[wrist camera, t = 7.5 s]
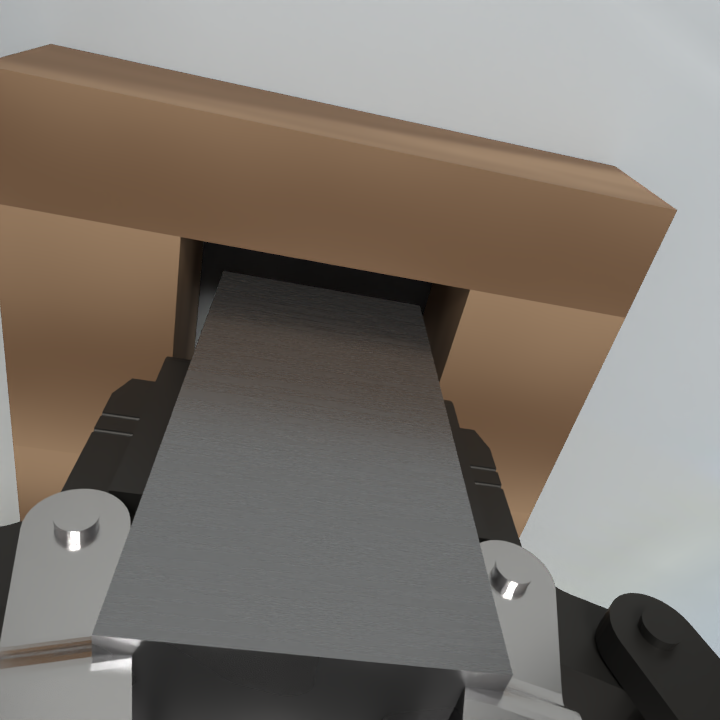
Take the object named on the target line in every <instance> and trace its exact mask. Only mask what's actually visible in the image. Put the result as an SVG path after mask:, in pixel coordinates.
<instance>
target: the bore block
mask: <svg viewBox="0 0 720 720" xmlns="http://www.w3.org/2000/svg"><path fill="white" fill-rule="evenodd" d="M676 212H677V210H676V209H675V208H673V207H672V206H670V205H669V204H668V203H666V202H665V201H663V200H662V199H660V198H659V197H658V196H656V195H655V194H653V193H652V192H651V191H649V190H648V189H646V188H645V187H643V186H642V185H641V184H639V183H638V182H636V181H635V180H634V179H632V178H631V177H629V176H628V175H627V174H625V173H624V172H622V171H621V170H619V169H618V168H617V167H615V166H611V165H606V164H602V163H597V162H593V161H588V160H583V159H579V158H574V157H570V156H565V155H560V154H556V153H551V152H546V151H542V150H537V149H533V148H528V147H523V146H519V145H514V144H510V143H505V142H500V141H496V140H491V139H486V138H482V137H477V136H473V135H468V134H463V133H459V132H454V131H450V130H445V129H440V128H436V127H431V126H427V125H422V124H417V123H413V122H408V121H403V120H399V119H394V118H390V117H385V116H380V115H376V114H371V113H367V112H362V111H357V110H353V109H348V108H343V107H339V106H334V105H330V104H325V103H320V102H316V101H311V100H307V99H302V98H297V97H293V96H288V95H283V94H279V93H274V92H270V91H265V90H260V89H256V88H251V87H247V86H242V85H237V84H233V83H228V82H224V81H219V80H214V79H210V78H205V77H200V76H196V75H191V74H187V73H182V72H177V71H173V70H168V69H164V68H159V67H154V66H150V65H145V64H140V63H136V62H131V61H127V60H122V59H117V58H113V57H108V56H104V55H99V54H94V53H90V52H85V51H80V50H76V49H71V48H67V47H62V46H57V45H53V44H49V45H46V46H42V47H38V48H34V49H31V50H27V51H23V52H20V53H16V54H12V55H9V56H5V57H1V58H0V308H1V318H2V329H3V340H4V351H5V361H6V372H7V383H8V394H9V404H10V415H11V426H12V437H13V447H14V458H15V469H16V480H17V490H18V501H19V512H20V521H23V520H24V518H25V516H26V515H27V513H28V512H29V511H30V510H31V509H32V508H33V507H34V506H35V505H36V504H37V503H39V502H41V501H42V500H44V499H45V498H47V497H49V496H52V495H54V494H57V493H60V492H61V490H62V488H63V487H64V485H65V483H66V481H67V479H68V477H69V475H70V473H71V471H72V469H73V467H74V465H75V463H76V462H77V460H78V458H79V456H80V454H81V452H82V450H83V448H84V446H85V444H86V442H87V440H88V438H89V437H90V435H91V433H92V432H93V431H94V427H95V425H96V423H97V421H98V419H99V417H100V416H102V412H103V410H104V408H105V406H106V404H107V402H108V400H109V398H110V396H111V394H112V393H113V392H114V391H116V390H117V389H118V388H120V387H121V386H123V385H124V384H125V383H127V382H128V381H129V380H131V379H132V378H134V379H141V380H148V381H154V382H155V381H156V379H157V377H158V374H159V372H160V370H161V367H162V365H163V363H164V360H165V358H166V357H167V356H169V357H176V358H182V359H189V360H192V357H193V354H194V348H195V337H196V325H197V314H198V302H199V291H200V279H201V268H202V257H203V245H204V241H205V242H211V243H216V244H222V245H227V246H233V247H238V248H244V249H249V250H255V251H260V252H266V253H271V254H277V255H282V256H288V257H293V258H299V259H304V260H310V261H315V262H321V263H326V264H332V265H337V266H343V267H348V268H354V269H359V270H365V271H370V272H376V273H381V274H387V275H392V276H398V277H403V278H409V279H414V280H420V281H425V282H431V283H432V286H431V290H430V293H429V296H428V300H427V303H426V307H425V310H424V313H423V320H424V324H425V328H426V332H427V336H428V340H429V344H430V348H431V352H432V356H433V360H434V364H435V368H436V372H437V376H438V380H439V384H440V388H441V392H442V396H443V400H449V401H452V403H453V405H454V408H455V412H456V415H457V419H458V423H459V426H460V428H465V429H471V430H475V431H476V433H477V434H478V435H479V436H480V437H481V439H482V440H483V441H484V442H485V443H486V444H487V446H488V447H489V448H490V450H491V453H492V456H493V459H494V463H495V466H496V472H498V475H499V478H500V481H501V484H502V485H501V489H503V490H504V494H505V497H506V500H507V503H508V506H509V509H510V512H511V515H512V518H513V521H514V524H515V528H516V531H517V534H518V537H520V535H521V533H522V531H523V529H524V527H525V525H526V523H527V521H528V518H529V516H530V514H531V512H532V510H533V508H534V506H535V504H536V502H537V500H538V498H539V496H540V494H541V492H542V489H543V487H544V485H545V483H546V481H547V479H548V477H549V475H550V473H551V471H552V469H553V467H554V465H555V462H556V460H557V458H558V456H559V454H560V452H561V450H562V448H563V446H564V444H565V442H566V440H567V438H568V436H569V433H570V431H571V429H572V427H573V425H574V423H575V421H576V419H577V417H578V415H579V413H580V411H581V409H582V406H583V404H584V402H585V400H586V398H587V396H588V394H589V392H590V390H591V388H592V386H593V384H594V382H595V380H596V377H597V375H598V373H599V371H600V369H601V367H602V365H603V363H604V361H605V359H606V357H607V355H608V353H609V350H610V348H611V346H612V344H613V342H614V340H615V338H616V336H617V334H618V332H619V330H620V328H621V326H622V324H623V321H624V319H625V317H626V315H627V313H628V311H629V309H630V307H631V305H632V303H633V301H634V299H635V297H636V294H637V292H638V290H639V288H640V286H641V284H642V282H643V280H644V278H645V276H646V274H647V272H648V270H649V268H650V265H651V263H652V261H653V259H654V257H655V255H656V253H657V251H658V249H659V247H660V245H661V243H662V241H663V238H664V236H665V234H666V232H667V230H668V228H669V226H670V224H671V222H672V220H673V218H674V216H675V214H676Z"/></svg>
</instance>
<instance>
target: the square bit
mask: <svg viewBox="0 0 720 720" xmlns="http://www.w3.org/2000/svg"><path fill="white" fill-rule="evenodd" d="M92 654H108V655H127V656H132V720H448V719H449V717H450V715H451V713H452V711H453V709H454V707H455V705H456V703H457V701H458V699H459V697H460V695H461V693H462V691H463V689H464V687H465V686H468V687H475V688H483V689H489V690H495V691H501V692H504V690H505V689H506V687H507V685H508V683H509V682H510V680H511V678H512V676H513V673H512V669H511V665H510V661H509V657H508V653H507V649H506V645H505V641H504V637H503V633H502V630H501V626H500V622H499V618H498V614H497V610H496V606H495V602H494V598H493V594H492V590H491V586H490V582H489V578H488V574H487V570H486V566H485V562H484V558H483V554H482V550H481V546H480V542H479V538H478V534H477V530H476V526H475V523H474V519H473V515H472V511H471V507H470V503H469V499H468V495H467V491H466V487H465V483H464V479H463V475H462V471H461V467H460V463H459V459H458V455H457V451H456V447H455V443H454V439H453V435H452V431H451V427H450V423H449V419H448V416H447V412H446V408H445V404H444V400H443V396H442V392H441V388H440V384H439V380H438V376H437V372H436V368H435V364H434V360H433V356H432V352H431V348H430V344H429V340H428V336H427V332H426V328H425V324H424V320H423V316H422V312H421V309H420V306H419V305H413V304H407V303H402V302H396V301H391V300H385V299H379V298H374V297H368V296H362V295H357V294H351V293H345V292H340V291H334V290H328V289H323V288H317V287H311V286H306V285H300V284H294V283H289V282H283V281H277V280H272V279H266V278H261V277H255V276H249V275H244V274H238V273H232V272H227V271H223V274H222V277H221V280H220V282H219V285H218V288H217V291H216V293H215V296H214V299H213V302H212V304H211V307H210V310H209V313H208V315H207V318H206V321H205V324H204V326H203V329H202V332H201V335H200V337H199V340H198V343H197V346H196V349H195V351H194V354H193V357H192V360H191V362H190V365H189V368H188V371H187V373H186V376H185V379H184V382H183V384H182V387H181V390H180V393H179V395H178V398H177V401H176V404H175V406H174V409H173V412H172V415H171V418H170V420H169V423H168V426H167V429H166V431H165V434H164V437H163V440H162V442H161V445H160V448H159V451H158V453H157V456H156V459H155V462H154V464H153V467H152V470H151V473H150V475H149V478H148V481H147V484H146V487H145V489H144V492H143V495H142V498H141V500H140V503H139V506H138V509H137V511H136V514H135V517H134V520H133V522H132V525H131V528H130V531H129V533H128V536H127V539H126V542H125V544H124V547H123V550H122V553H121V555H120V558H119V561H118V564H117V567H116V569H115V572H114V575H113V578H112V580H111V583H110V586H109V589H108V591H107V594H106V597H105V600H104V602H103V605H102V608H101V611H100V613H99V616H98V619H97V622H96V624H95V627H94V630H93V633H92Z"/></svg>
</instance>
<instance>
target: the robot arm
mask: <svg viewBox="0 0 720 720" xmlns="http://www.w3.org/2000/svg"><path fill="white" fill-rule="evenodd" d="M190 362H191V360H189V359H182V358H176V357H169V356H167V357H166V358H165V360H164V363H163V365H162V367H161V370H160V372H159V374H158V377H157V379H156V381H155V382H154V381H148V380H141V379H134V378H132V379H131V380H129V381H128V382H127V383H125V384H124V385H123V386H121V387H120V388H118V389H117V390H116V391H114V392H113V393H112V394H111V396H110V398H109V400H108V402H107V404H106V406H105V408H104V410H103V412H102V416H100V417H99V419H98V421H97V423H96V425H95V427H94V431H93V432H92V433H91V435H90V437H89V438H88V440H87V442H86V444H85V446H84V448H83V450H82V452H81V454H80V456H79V458H78V460H77V462H76V463H75V465H74V467H73V469H72V471H71V473H70V475H69V477H68V479H67V481H66V483H65V485H64V487H63V488H62V490H61V492H60V493H57V494H54V495H52V496H49V497H47V498H45V499H44V500H42V501H41V502H39V503H37V504H36V505H35V506H34V507H33V508H32V509H31V510H30V511H29V512H28V513H27V515H26V516H25V518H24V520H23V521H20V522H18V523H14V524H11V525H7V526H2V527H0V720H132V656H127V655H108V654H92V633H93V630H94V627H95V624H96V622H97V619H98V616H99V613H100V611H101V608H102V605H103V602H104V600H105V597H106V594H107V591H108V589H109V586H110V583H111V580H112V578H113V575H114V572H115V569H116V567H117V564H118V561H119V558H120V555H121V553H122V550H123V547H124V544H125V542H126V539H127V536H128V533H129V531H130V528H131V525H132V522H133V520H134V517H135V514H136V511H137V509H138V506H139V503H140V500H141V498H142V495H143V492H144V489H145V487H146V484H147V481H148V478H149V475H150V473H151V470H152V467H153V464H154V462H155V459H156V456H157V453H158V451H159V448H160V445H161V442H162V440H163V437H164V434H165V431H166V429H167V426H168V423H169V420H170V418H171V415H172V412H173V409H174V406H175V404H176V401H177V398H178V395H179V393H180V390H181V387H182V384H183V382H184V379H185V376H186V373H187V371H188V368H189V365H190ZM444 404H445V408H446V412H447V416H448V419H449V423H450V427H451V431H452V435H453V439H454V443H455V447H456V451H457V455H458V459H459V463H460V467H461V471H462V475H463V479H464V483H465V487H466V491H467V495H468V499H469V503H470V507H471V511H472V515H473V519H474V523H475V526H476V530H477V534H478V538H479V542H480V546H481V550H482V554H483V558H484V562H485V566H486V570H487V574H488V578H489V582H490V586H491V590H492V594H493V598H494V602H495V606H496V610H497V614H498V618H499V622H500V626H501V630H502V633H503V637H504V641H505V645H506V649H507V653H508V657H509V661H510V665H511V669H512V673H513V676H512V678H511V680H510V682H509V683H508V685H507V687H506V689H505V690H504V692H501V691H495V690H489V689H483V688H475V687H468V686H465V687H464V689H463V691H462V693H461V695H460V697H459V699H458V701H457V703H456V705H455V707H454V709H453V711H452V713H451V715H450V717H449V719H448V720H720V658H719V657H718V656H717V655H716V654H715V652H714V651H713V650H712V649H711V648H710V647H709V646H708V644H707V643H706V642H705V641H704V640H703V639H702V637H701V636H700V635H699V634H698V633H697V632H696V630H695V629H694V628H693V627H692V626H691V625H690V623H689V622H688V621H687V620H686V619H685V618H684V617H683V616H682V615H680V614H679V613H678V612H677V611H676V610H674V609H673V608H671V607H670V606H669V605H667V604H665V603H663V602H662V601H660V600H658V599H655V598H653V597H650V596H647V595H643V594H638V593H628V594H623V595H620V596H619V597H617V598H616V599H615V600H614V601H613V602H612V604H611V605H610V607H609V609H606V608H603V607H601V606H598V605H596V604H593V603H591V602H588V601H586V600H583V599H581V598H578V597H576V596H573V595H571V594H568V593H566V592H564V591H562V590H560V589H558V588H557V587H555V583H554V580H553V578H552V576H551V574H550V572H549V570H548V569H547V568H546V566H545V565H544V564H543V563H542V562H541V561H540V560H539V559H538V558H537V557H536V556H535V555H533V554H532V553H531V552H529V551H528V550H526V549H524V548H522V546H521V543H520V540H519V537H518V534H517V531H516V528H515V524H514V521H513V518H512V515H511V512H510V509H509V506H508V503H507V500H506V497H505V494H504V490H503V489H501V485H502V484H501V481H500V478H499V475H498V472H496V466H495V463H494V459H493V456H492V453H491V450H490V448H489V447H488V446H487V444H486V443H485V442H484V441H483V440H482V439H481V437H480V436H479V435H478V434H477V433H476V431H475V430H471V429H465V428H460V426H459V423H458V419H457V415H456V412H455V408H454V405H453V403H452V401H449V400H444Z"/></svg>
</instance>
